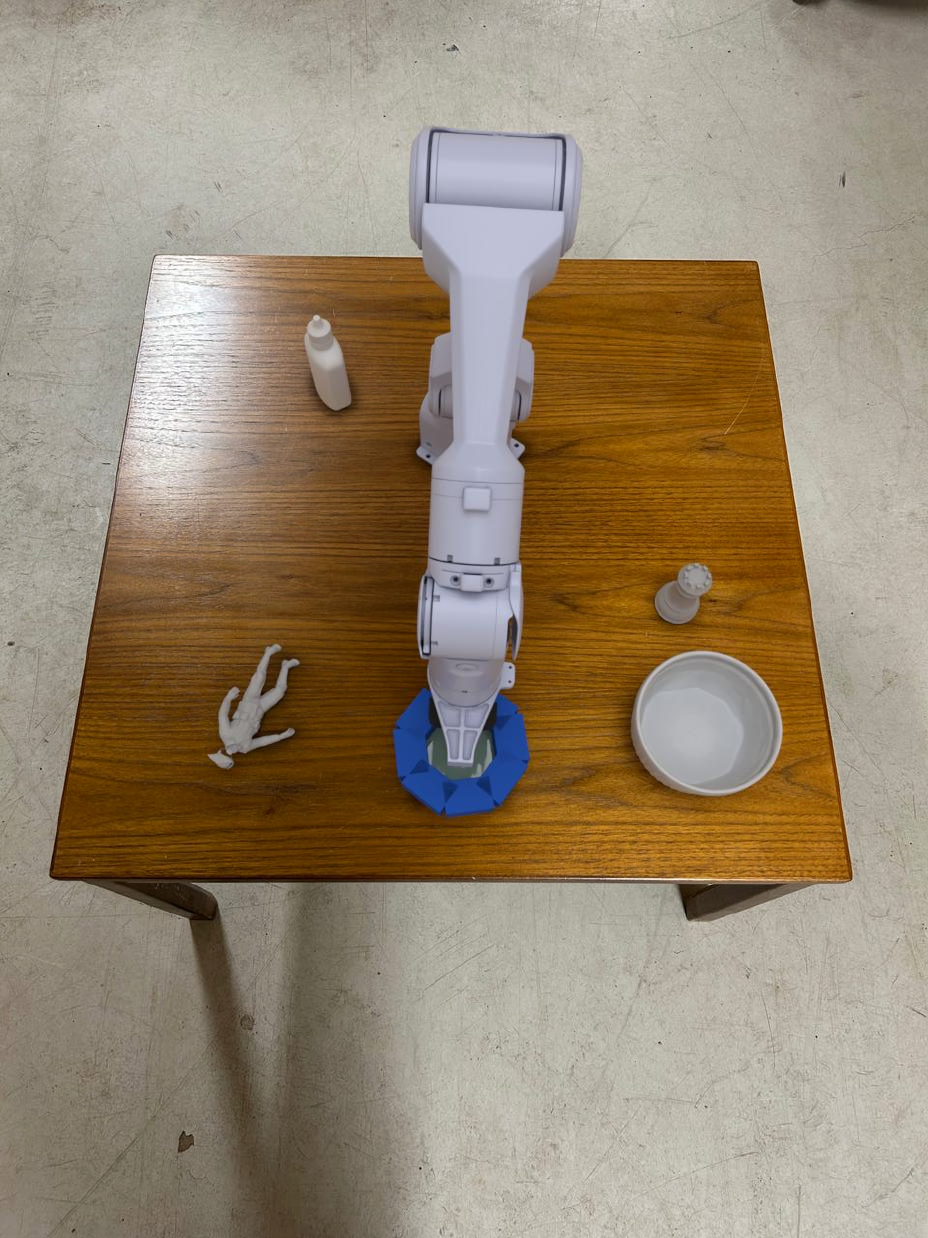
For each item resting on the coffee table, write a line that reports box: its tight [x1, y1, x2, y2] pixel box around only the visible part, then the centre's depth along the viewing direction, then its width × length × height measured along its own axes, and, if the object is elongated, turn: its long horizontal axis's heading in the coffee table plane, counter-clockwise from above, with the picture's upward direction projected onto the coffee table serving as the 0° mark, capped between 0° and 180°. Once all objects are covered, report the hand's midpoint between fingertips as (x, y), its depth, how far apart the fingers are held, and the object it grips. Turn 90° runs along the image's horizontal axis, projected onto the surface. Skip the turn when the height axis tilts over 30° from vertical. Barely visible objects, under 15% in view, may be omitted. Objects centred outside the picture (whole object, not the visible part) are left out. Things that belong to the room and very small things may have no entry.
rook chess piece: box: [654, 562, 713, 625], centre depth 77 cm, size 4×4×8 cm
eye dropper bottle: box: [304, 314, 352, 412], centre depth 83 cm, size 4×6×12 cm
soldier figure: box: [207, 643, 301, 771], centre depth 74 cm, size 8×5×12 cm
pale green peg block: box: [415, 728, 495, 801], centre depth 71 cm, size 8×8×8 cm
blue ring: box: [392, 687, 531, 819], centre depth 69 cm, size 12×12×3 cm
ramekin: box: [630, 650, 784, 797], centre depth 73 cm, size 13×13×7 cm
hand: (463, 699), depth 71 cm, fingers closed on blue ring, 3 cm apart
